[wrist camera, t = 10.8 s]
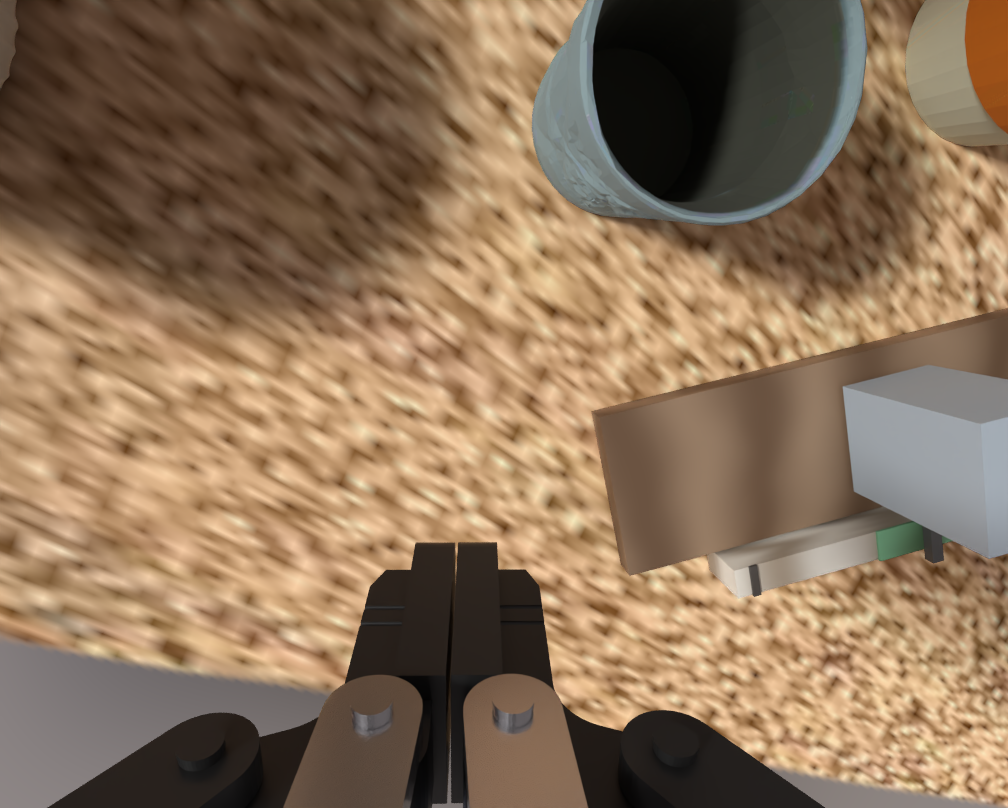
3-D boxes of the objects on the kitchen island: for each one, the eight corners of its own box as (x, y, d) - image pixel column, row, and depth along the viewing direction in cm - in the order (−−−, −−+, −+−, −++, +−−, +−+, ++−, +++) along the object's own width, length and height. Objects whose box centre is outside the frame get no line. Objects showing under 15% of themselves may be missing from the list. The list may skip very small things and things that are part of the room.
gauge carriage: (860, 552, 39) (993, 635, 30) (842, 386, 37) (980, 424, 28) (990, 516, 39) (1157, 587, 31) (980, 351, 37) (1157, 377, 29)
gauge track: (626, 593, 39) (716, 723, 28) (591, 411, 37) (674, 474, 26) (1067, 472, 42) (1309, 547, 31) (1061, 294, 39) (1321, 306, 28)
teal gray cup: (624, -27, 33) (746, -189, 21) (754, 136, 35) (928, 73, 24) (474, 128, 33) (513, 53, 22) (613, 279, 36) (716, 286, 24)
